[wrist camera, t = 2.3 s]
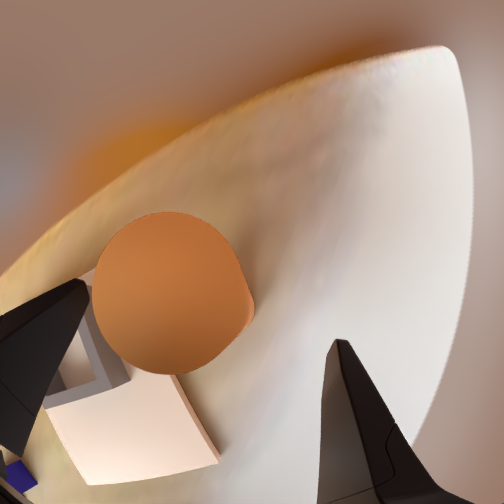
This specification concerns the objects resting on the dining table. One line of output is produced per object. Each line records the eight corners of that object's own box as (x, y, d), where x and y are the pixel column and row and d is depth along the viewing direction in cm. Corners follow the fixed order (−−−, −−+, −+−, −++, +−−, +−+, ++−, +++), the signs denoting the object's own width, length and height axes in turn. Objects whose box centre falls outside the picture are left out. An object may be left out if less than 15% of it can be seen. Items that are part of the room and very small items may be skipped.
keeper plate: (220, 456, 15) (213, 481, 12) (93, 480, 14) (73, 497, 11) (127, 256, 18) (102, 244, 15) (21, 316, 17) (-7, 314, 14)
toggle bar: (263, 321, 17) (274, 335, 5) (216, 342, 17) (127, 394, 5) (241, 274, 18) (203, 186, 6) (195, 296, 18) (76, 253, 5)
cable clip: (12, 504, 12) (-14, 518, 6) (-9, 475, 13) (-36, 486, 7) (48, 494, 13) (15, 516, 8) (21, 459, 14) (-15, 474, 8)
